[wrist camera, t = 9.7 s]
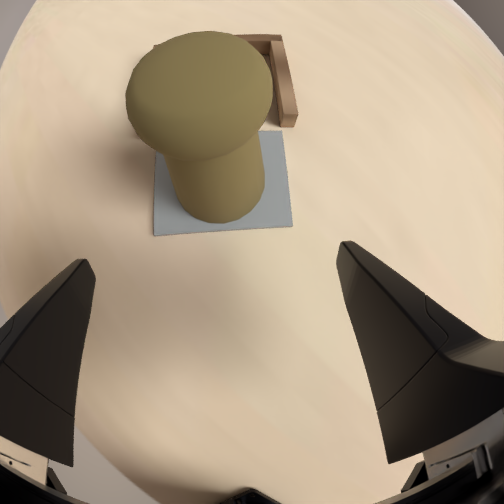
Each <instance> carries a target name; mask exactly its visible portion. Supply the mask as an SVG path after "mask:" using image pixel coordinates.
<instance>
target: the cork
mask: <svg viewBox="0 0 504 504" xmlns="http://www.w3.org/2000/svg"><path fill="white" fill-rule="evenodd" d="M125 95H126V109H127V114H128V119H129V121H130V122H131V124H132V126H133V127H134V129H135V131H136V132H137V134H138V135H139V137H140V138H141V139H142V141H143V142H145V143H146V144H147V145H149V146H150V147H152V148H153V149H155V150H156V151H157V152H159V153H161V154H163V156H164V159H165V162H166V165H167V168H168V171H169V174H170V177H171V181H172V184H173V187H174V190H175V192H176V195H177V198H178V200H179V202H180V203H181V205H182V206H183V208H184V210H185V211H187V212H188V213H189V214H190V215H192V216H193V217H194V218H196V219H198V220H201V221H204V222H207V223H215V224H225V223H228V222H232V221H235V220H239V219H240V218H242V217H243V216H245V215H246V214H248V213H249V212H251V211H252V209H253V208H254V207H255V206H256V205H257V203H258V202H259V201H260V199H261V196H262V193H263V191H264V188H265V171H264V165H263V159H262V152H261V146H260V140H259V134H258V130H259V129H260V127H261V126H262V125H263V123H264V121H265V119H266V116H267V114H268V112H269V109H270V107H271V103H272V98H273V81H272V76H271V72H270V69H269V67H268V65H267V63H266V61H265V59H264V58H263V56H262V55H261V54H260V53H259V52H258V51H257V50H256V49H255V48H254V47H253V46H252V45H251V44H249V43H248V42H247V41H246V40H244V39H242V38H239V37H237V36H234V35H232V34H229V33H222V32H215V31H204V32H192V33H188V34H184V35H181V36H177V37H174V38H172V39H170V40H168V41H166V42H164V43H162V44H160V45H158V46H156V47H155V48H154V49H152V50H151V51H150V52H149V53H147V54H146V55H145V56H144V57H143V58H142V59H141V60H140V62H139V63H138V64H137V66H136V67H135V68H134V69H133V72H132V75H131V78H130V80H129V83H128V86H127V90H126V93H125Z"/></svg>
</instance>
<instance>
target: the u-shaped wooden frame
mask: <svg viewBox="0 0 504 504" xmlns="http://www.w3.org/2000/svg"><path fill="white" fill-rule="evenodd" d="M234 36H237V37H239V38H242V39H244V40H246V41H247V42H248V43H249V44H251V45H252V46H253V47H254V48H255V49H256V50H257V51H258V52H259V53H260V54H267V55H269V56H270V62H271V68H272V74H273V80H274V86H275V93H276V99H277V106H278V113H279V120H280V127H294V125H295V122H296V119H297V116H298V110H297V105H296V99H295V94H294V89H293V84H292V80H291V75H290V70H289V66H288V61H287V57H286V53H285V49H284V44H283V40H282V36H281V35H269V34H250V35H234ZM158 45H160V44H158ZM158 45H154V47H153V49H154V48H155V47H156V46H158Z"/></svg>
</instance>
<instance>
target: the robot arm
mask: <svg viewBox="0 0 504 504" xmlns="http://www.w3.org/2000/svg"><path fill="white" fill-rule="evenodd" d="M336 265H337V270H338V274H339V279H340V283H341V287H342V292H343V296H344V301H345V304H346V308H347V311H348V314H349V317H350V320H351V323H352V326H353V329H354V332H355V335H356V339H357V342H358V345H359V348H360V352H361V355H362V358H363V362H364V365H365V369H366V372H367V376H368V379H369V383H370V387H371V390H372V394H373V398H374V402H375V406H376V410H377V415H378V419H379V423H380V428H381V432H382V437H383V441H384V446H385V451H386V456H387V461H388V464H391V463H394V462H397V461H400V460H403V459H406V458H408V457H411V456H414V455H416V454H419V453H421V452H423V456H424V460H423V461H421V462H419V463H417V464H416V466H415V467H414V469H413V471H412V473H411V475H410V476H409V478H408V480H407V481H406V483H405V485H404V486H403V488H402V490H401V494H398V495H396V496H393V497H391V498H388V499H386V500H383V501H380V502H378V503H375V504H504V341H494V340H491V339H488V338H486V337H484V336H482V335H481V334H479V333H478V332H476V331H475V330H474V329H472V328H471V327H470V326H468V325H467V324H465V323H464V322H462V321H461V320H460V319H458V318H457V317H455V316H454V315H453V314H451V313H450V312H448V311H447V310H446V309H444V308H443V307H442V306H440V305H439V304H438V303H436V302H435V301H434V300H433V299H431V298H430V297H429V296H428V295H425V293H424V292H422V291H421V290H420V289H418V288H417V287H416V286H415V285H413V284H412V283H411V282H409V281H408V280H407V279H405V278H404V277H403V276H401V275H400V274H399V273H397V272H396V271H394V270H393V269H392V268H390V267H389V266H388V265H386V264H385V263H383V262H382V261H381V260H379V259H378V258H376V257H375V256H374V255H372V254H371V253H369V252H368V251H366V250H365V249H364V248H362V247H361V246H359V245H358V244H356V243H355V242H353V241H342V242H341V243H340V246H339V251H338V255H337V260H336ZM95 282H96V278H95V274H94V272H93V270H92V268H91V266H90V264H89V262H88V260H87V259H77V260H75V261H74V262H73V263H71V264H70V265H69V266H68V267H67V268H65V269H64V270H63V271H62V272H61V273H59V274H58V275H57V276H56V277H55V278H53V279H52V280H51V281H50V282H49V283H48V284H47V285H45V286H44V287H43V288H42V289H41V290H40V291H39V292H38V293H36V294H35V295H34V296H33V297H32V298H31V299H30V300H29V301H28V302H27V303H26V304H25V305H24V306H22V307H21V308H20V309H19V310H18V311H17V312H16V313H15V315H13V316H12V317H11V318H10V319H9V320H8V321H7V322H6V323H5V324H4V325H3V326H2V327H1V328H0V504H88V503H85V502H83V501H80V500H77V499H75V498H73V497H70V496H68V495H67V492H66V491H65V489H64V488H63V486H62V484H61V483H60V481H59V479H58V478H57V476H56V474H55V473H54V471H53V469H52V468H50V467H48V462H49V459H51V460H53V461H56V462H59V463H61V464H64V465H67V466H70V467H73V443H74V439H73V438H74V420H75V418H74V417H75V406H76V396H77V387H78V379H79V372H80V366H81V359H82V354H83V348H84V343H85V338H86V333H87V328H88V324H89V319H90V313H91V307H92V300H93V294H94V288H95ZM220 504H280V503H279V502H277V501H275V500H273V499H271V498H269V497H268V496H266V495H264V494H263V493H261V492H259V491H257V490H255V489H250V490H247V491H246V492H244V493H242V494H240V495H238V496H235V497H233V498H231V499H229V500H227V501H225V502H222V503H220Z"/></svg>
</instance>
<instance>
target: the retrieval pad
mask: <svg viewBox="0 0 504 504" xmlns="http://www.w3.org/2000/svg"><path fill="white" fill-rule="evenodd" d="M258 134H259V140H260V146H261V152H262V159H263V165H264V171H265V188H264V191H263V193H262V196H261V199H260V201H259V202H258V203H257V205H256V206H255V207H254V208H253V209H252V211H251V212H249V213H248V214H246V215H245V216H243V217H242V218H240V219H239V220H235V221H232V222H228V223H225V224H215V223H207V222H204V221H201V220H198V219H196V218H194V217H193V216H192V215H190V214H189V213H188V212H187V211H185V210H184V208H183V206H182V205H181V203H180V202H179V200H178V198H177V195H176V192H175V190H174V187H173V184H172V181H171V177H170V174H169V171H168V168H167V165H166V162H165V159H164V156H163V154H161V153H159V152H157V151H156V162H155V184H154V236H163V235H176V234H188V233H202V232H215V231H230V230H245V229H261V228H279V227H292V226H293V223H292V212H291V203H290V193H289V184H288V175H287V167H286V159H285V151H284V143H283V135H282V131H258Z"/></svg>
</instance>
